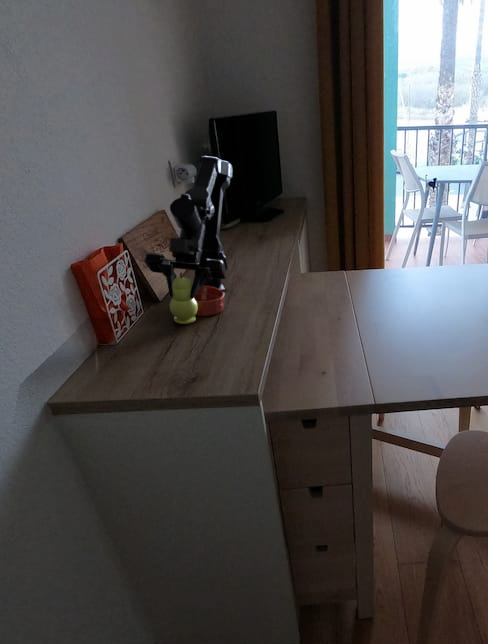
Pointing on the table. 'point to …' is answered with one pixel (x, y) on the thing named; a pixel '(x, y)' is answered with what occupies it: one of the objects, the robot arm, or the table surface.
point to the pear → (183, 301)
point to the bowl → (209, 301)
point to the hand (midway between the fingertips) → (181, 297)
